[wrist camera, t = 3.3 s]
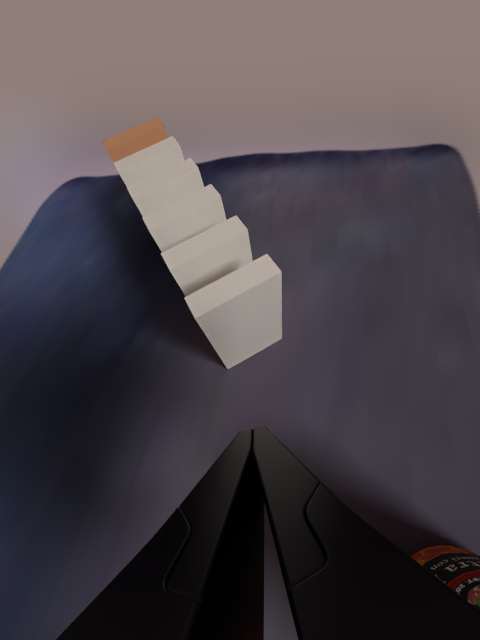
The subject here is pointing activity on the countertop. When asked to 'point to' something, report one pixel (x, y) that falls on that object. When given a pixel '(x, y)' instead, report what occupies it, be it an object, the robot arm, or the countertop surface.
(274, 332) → the domino
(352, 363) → the countertop surface
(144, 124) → the domino
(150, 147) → the domino
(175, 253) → the domino
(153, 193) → the domino
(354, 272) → the countertop surface
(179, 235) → the domino
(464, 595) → the canned food
